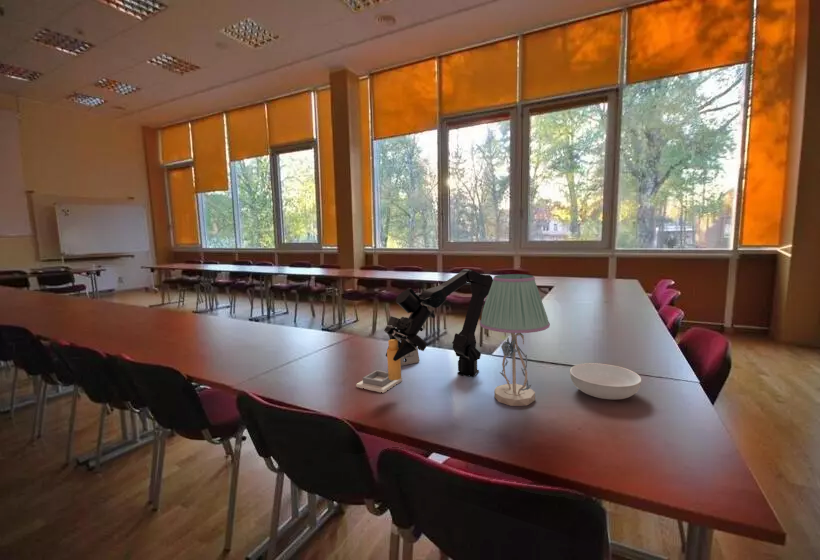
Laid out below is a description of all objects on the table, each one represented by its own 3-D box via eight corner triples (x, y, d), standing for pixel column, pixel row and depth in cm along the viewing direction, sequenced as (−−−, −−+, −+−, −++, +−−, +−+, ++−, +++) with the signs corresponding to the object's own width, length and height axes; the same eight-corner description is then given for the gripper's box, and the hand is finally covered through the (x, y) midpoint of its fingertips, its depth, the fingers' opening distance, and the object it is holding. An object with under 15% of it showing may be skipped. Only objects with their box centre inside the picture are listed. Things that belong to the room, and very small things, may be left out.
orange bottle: (403, 376, 132) (402, 339, 131) (396, 381, 129) (394, 343, 127) (393, 374, 135) (391, 338, 133) (385, 378, 131) (383, 341, 129)
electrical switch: (399, 366, 161) (398, 344, 160) (394, 364, 165) (393, 342, 165) (420, 362, 165) (418, 341, 164) (414, 360, 169) (413, 339, 169)
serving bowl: (641, 413, 114) (642, 390, 113) (565, 400, 124) (565, 379, 123) (640, 387, 132) (640, 367, 131) (573, 377, 142) (573, 359, 141)
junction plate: (402, 380, 145) (401, 372, 145) (383, 393, 135) (383, 384, 135) (376, 375, 151) (375, 367, 151) (356, 387, 141) (356, 378, 141)
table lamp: (468, 391, 133) (466, 275, 128) (520, 380, 141) (520, 271, 136) (506, 418, 113) (505, 283, 108) (564, 404, 121) (566, 276, 116)
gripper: (387, 303, 138) (361, 339, 134) (417, 311, 123) (389, 352, 118) (406, 321, 144) (382, 356, 139) (437, 331, 128) (411, 370, 124)
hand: (390, 358), depth 130 cm, fingers closed on orange bottle, 4 cm apart
